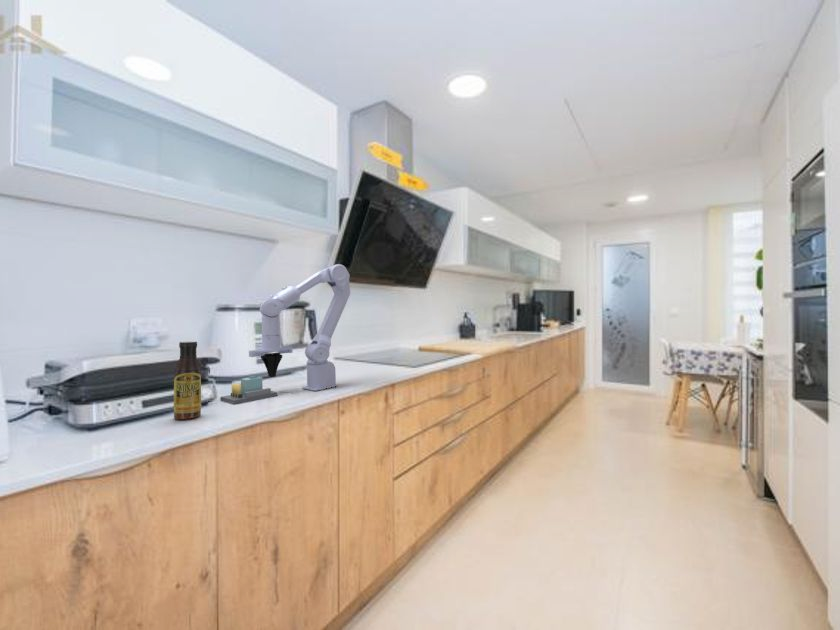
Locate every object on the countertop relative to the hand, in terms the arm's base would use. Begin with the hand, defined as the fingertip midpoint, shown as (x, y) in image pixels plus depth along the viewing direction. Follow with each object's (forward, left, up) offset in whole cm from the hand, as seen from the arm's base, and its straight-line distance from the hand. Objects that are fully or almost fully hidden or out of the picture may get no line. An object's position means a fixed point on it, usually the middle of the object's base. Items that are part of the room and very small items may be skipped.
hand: (272, 376), depth 132 cm
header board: (+8, 0, -6) cm, 10 cm away
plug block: (+7, 0, -5) cm, 8 cm away
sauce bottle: (+29, +9, -6) cm, 31 cm away
